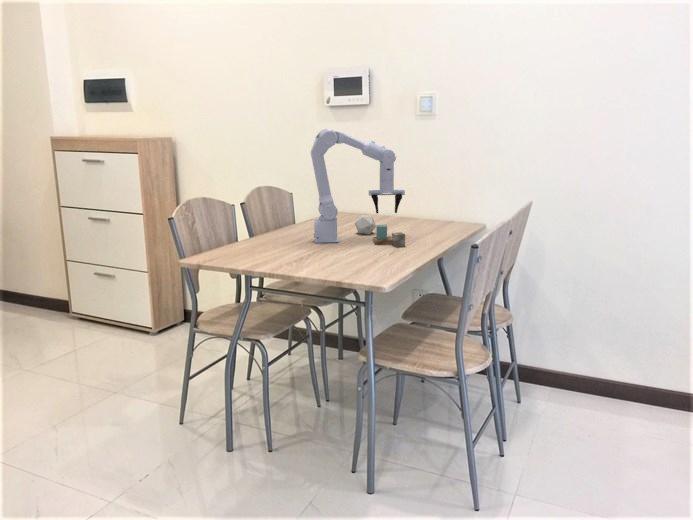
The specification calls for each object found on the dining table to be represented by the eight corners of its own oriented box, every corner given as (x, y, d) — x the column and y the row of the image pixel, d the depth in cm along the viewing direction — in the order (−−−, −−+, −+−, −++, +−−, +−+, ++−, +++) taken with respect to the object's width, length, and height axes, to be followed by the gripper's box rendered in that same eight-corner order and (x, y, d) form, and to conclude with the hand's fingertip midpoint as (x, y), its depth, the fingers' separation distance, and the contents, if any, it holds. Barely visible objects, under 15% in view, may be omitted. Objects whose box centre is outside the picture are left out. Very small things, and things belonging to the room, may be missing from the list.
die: (362, 237, 245) (376, 219, 243) (347, 226, 248) (361, 208, 247) (369, 241, 252) (382, 223, 251) (355, 229, 255) (368, 212, 254)
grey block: (395, 247, 223) (395, 234, 222) (391, 245, 227) (391, 232, 226) (405, 246, 224) (405, 234, 223) (401, 244, 228) (401, 232, 227)
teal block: (376, 239, 229) (376, 226, 228) (376, 237, 233) (376, 224, 232) (386, 239, 229) (387, 226, 228) (386, 237, 233) (386, 224, 231)
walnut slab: (374, 246, 228) (374, 240, 227) (373, 242, 235) (373, 236, 234) (392, 246, 228) (392, 240, 227) (390, 242, 235) (390, 236, 234)
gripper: (369, 180, 231) (369, 214, 234) (405, 180, 231) (405, 214, 235) (368, 179, 238) (368, 212, 241) (403, 178, 238) (403, 211, 242)
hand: (386, 212), depth 238 cm, fingers open, 7 cm apart
